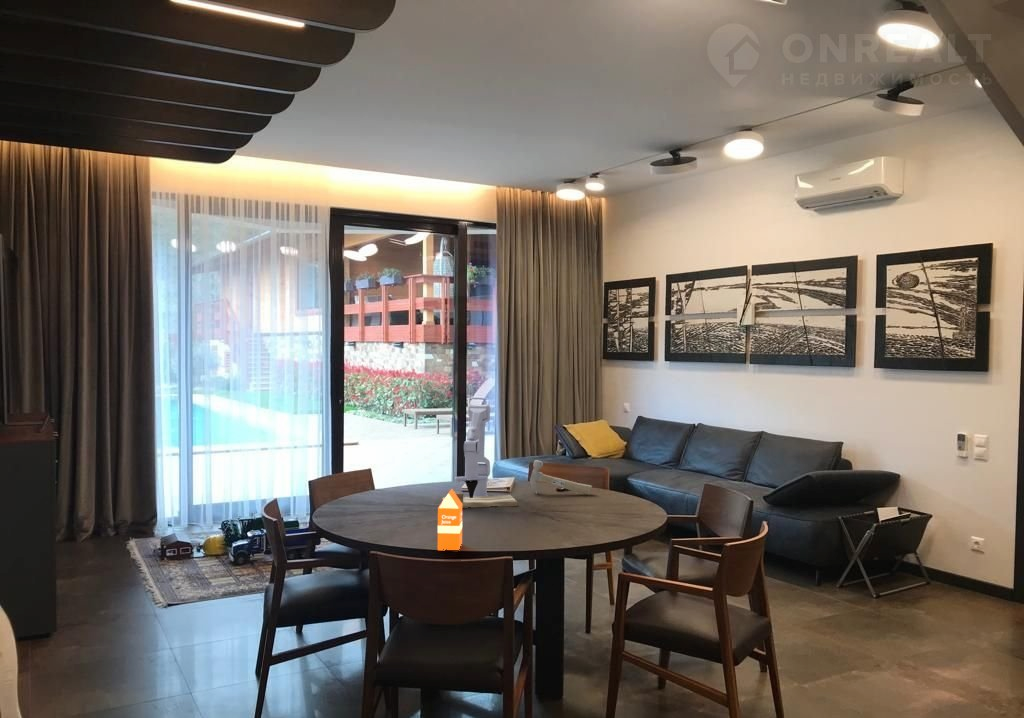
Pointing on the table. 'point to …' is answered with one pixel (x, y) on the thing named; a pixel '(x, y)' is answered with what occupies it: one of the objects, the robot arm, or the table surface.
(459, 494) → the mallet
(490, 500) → the board
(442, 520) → the orange juice
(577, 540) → the table surface
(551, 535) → the table surface
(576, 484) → the hammer
